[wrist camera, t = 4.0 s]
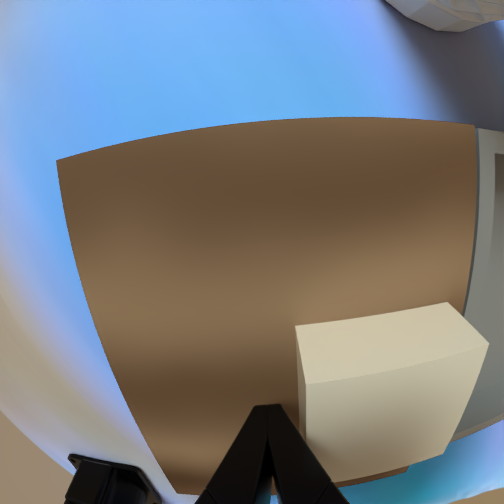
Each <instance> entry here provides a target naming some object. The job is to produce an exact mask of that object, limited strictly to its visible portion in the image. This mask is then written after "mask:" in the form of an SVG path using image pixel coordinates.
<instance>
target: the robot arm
mask: <svg viewBox="0 0 504 504" xmlns="http://www.w3.org/2000/svg"><path fill="white" fill-rule="evenodd" d="M68 460H69V461H70V462H71V463H72V465H73V466H74V467H75V468H76V469H77V471H76V473H75V475H74V477H73V480H72V482H71V484H70V486H69V488H68V491H67V493H66V495H65V498H66V500H65V502H64V504H162V501H161V499H160V498H159V497H158V496H157V494H156V493H155V492H154V490H153V489H152V487H151V486H150V485H149V483H148V482H147V480H146V479H145V478H144V476H143V475H142V473H141V472H140V470H139V469H137V468H135V467H133V466H128V465H122V464H116V463H110V462H105V461H100V460H96V459H91V458H87V457H83V456H78V455H74V454H69V456H68ZM272 478H273V479H274V484H275V489H276V493H277V498H278V503H279V504H350V503H349V502H348V501H347V499H346V498H345V497H344V496H343V494H342V493H341V492H340V490H339V489H338V488H337V486H336V485H335V483H334V482H332V480H331V478H330V477H329V475H328V474H327V472H326V471H325V469H324V468H323V467H322V465H321V464H320V462H319V461H318V459H317V458H316V456H315V455H314V453H313V452H312V450H311V449H310V448H309V446H308V445H307V443H306V442H305V440H304V439H303V437H302V436H301V434H300V433H299V431H298V430H297V428H296V426H295V425H294V423H293V422H292V420H291V419H290V417H289V416H288V414H287V413H286V411H285V410H284V408H283V406H282V405H281V404H279V403H277V404H268V405H266V404H265V405H255V406H254V407H253V408H252V410H251V412H250V414H249V415H248V417H247V419H246V421H245V422H244V424H243V426H242V428H241V429H240V431H239V433H238V435H237V436H236V438H235V440H234V441H233V443H232V445H231V446H230V448H229V450H228V452H227V453H226V455H225V457H224V458H223V460H222V461H221V463H220V465H219V466H218V468H217V470H216V471H215V473H214V474H213V476H212V478H211V479H210V481H209V482H208V484H207V486H206V487H205V488H206V489H204V490H203V492H202V493H201V495H200V496H199V498H198V499H197V501H196V502H195V503H194V504H270V498H271V488H272Z"/></svg>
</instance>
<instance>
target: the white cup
mask: <svg viewBox="0 0 504 504" xmlns="http://www.w3.org/2000/svg"><path fill="white" fill-rule="evenodd" d="M385 1H387V2H388V3H389V4H391V5H392V6H393V7H394V8H396V9H397V10H398V11H399V12H401V13H402V14H403V15H404V16H406V17H407V18H409V19H412V20H414V21H416V22H419V23H421V24H423V25H425V26H427V27H429V28H432V29H434V30H436V31H451V32H463V31H466V30H469V29H471V28H474V27H477V26H479V25H482V24H485V23H488V22H490V21H498V20H504V0H385Z"/></svg>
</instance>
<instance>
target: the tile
mask: <svg viewBox="0 0 504 504" xmlns="http://www.w3.org/2000/svg"><path fill="white" fill-rule="evenodd" d="M295 334H296V352H297V373H298V398H299V430H300V434H301V436H302V437H303V439H304V440H305V442H306V443H307V445H308V446H309V448H310V449H311V450H312V452H313V453H314V455H315V456H316V458H317V459H318V461H319V462H320V464H321V465H322V467H323V468H324V469H325V471H326V472H327V474H328V475H329V477H330V478H331V480H332V482H334V483H335V482H340V481H346V480H351V479H356V478H361V477H366V476H370V475H374V474H379V473H383V472H387V471H390V470H394V469H398V468H401V467H405V466H408V465H411V464H415V463H418V462H421V461H424V460H427V459H430V458H433V457H436V456H438V455H441V454H443V453H444V451H445V449H446V447H447V445H448V444H449V442H450V440H451V438H452V436H453V434H454V432H455V430H456V428H457V426H458V423H459V421H460V419H461V417H462V415H463V413H464V410H465V408H466V406H467V403H468V401H469V399H470V396H471V394H472V391H473V389H474V386H475V384H476V381H477V378H478V376H479V373H480V370H481V367H482V364H483V361H484V358H485V355H486V352H487V349H488V346H489V343H488V342H487V341H486V339H485V338H484V337H483V336H482V335H481V334H480V333H479V332H478V331H477V330H476V329H475V328H474V327H473V326H472V325H471V324H470V323H469V322H468V321H467V320H466V319H465V318H464V317H463V316H462V315H461V314H460V313H459V312H457V311H456V310H455V309H454V308H453V307H452V306H451V305H450V304H449V303H448V302H444V303H439V304H434V305H429V306H424V307H419V308H414V309H408V310H402V311H397V312H391V313H385V314H379V315H372V316H366V317H359V318H353V319H346V320H338V321H331V322H323V323H315V324H307V325H298V326H295Z"/></svg>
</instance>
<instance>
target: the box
mask: <svg viewBox="0 0 504 504" xmlns="http://www.w3.org/2000/svg"><path fill="white" fill-rule="evenodd" d="M475 138H476V163H477V190H476V214H475V229H474V240H473V249H472V258H471V265H470V272H469V279H468V285H467V291H466V296H465V301H464V307H463V311H462V316H463V317H464V318H465V319H466V320H467V321H468V322H469V323H470V324H471V325H472V326H473V327H474V328H475V329H476V330H477V331H478V332H479V333H480V334H481V335H482V336H483V337H484V338H485V339H486V341H487V342H488V343H489V346H488V349H487V352H486V355H485V358H484V361H483V364H482V367H481V370H480V373H479V376H478V378H477V381H476V384H475V386H474V389H473V391H472V394H471V396H470V399H469V401H468V403H467V406H466V408H465V410H464V413H463V415H462V417H461V419H460V421H459V423H458V426H457V428H456V430H455V432H454V434H453V436H452V438H451V440H450V442H453V441H455V440H458V439H460V438H463V437H465V436H468V435H470V434H473V433H475V432H477V431H480V430H482V429H484V428H486V427H488V426H491V425H493V424H495V423H497V422H499V421H501V420H503V419H504V132H500V131H494V130H487V129H480V128H475ZM450 442H449V443H450Z"/></svg>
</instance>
